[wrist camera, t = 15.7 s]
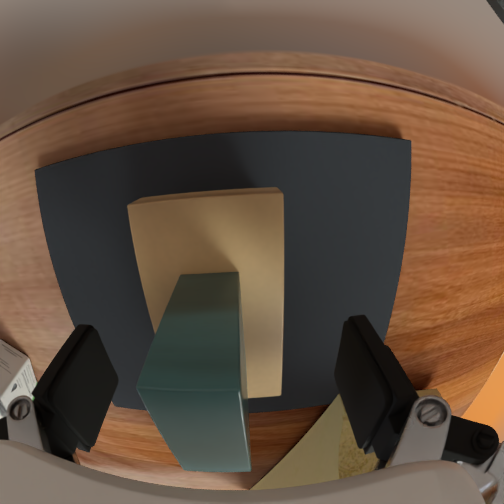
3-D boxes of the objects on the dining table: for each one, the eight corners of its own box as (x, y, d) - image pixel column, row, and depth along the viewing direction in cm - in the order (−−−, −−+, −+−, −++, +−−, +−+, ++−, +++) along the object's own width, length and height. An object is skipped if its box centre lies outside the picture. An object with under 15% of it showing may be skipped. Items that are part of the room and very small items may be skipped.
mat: (41, 168, 12) (34, 169, 12) (404, 140, 13) (411, 140, 12) (117, 400, 20) (114, 406, 19) (362, 390, 20) (365, 396, 19)
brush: (152, 191, 13) (25, 268, 4) (272, 182, 13) (342, 250, 4) (184, 360, 17) (161, 488, 8) (274, 357, 17) (296, 488, 8)
